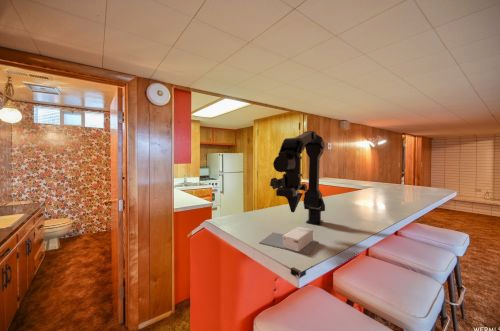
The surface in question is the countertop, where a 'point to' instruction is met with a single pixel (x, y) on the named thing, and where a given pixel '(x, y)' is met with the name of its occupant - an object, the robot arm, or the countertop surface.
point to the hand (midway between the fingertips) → (292, 212)
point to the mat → (277, 241)
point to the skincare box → (297, 238)
